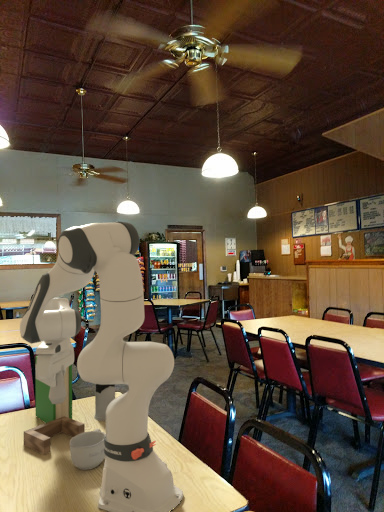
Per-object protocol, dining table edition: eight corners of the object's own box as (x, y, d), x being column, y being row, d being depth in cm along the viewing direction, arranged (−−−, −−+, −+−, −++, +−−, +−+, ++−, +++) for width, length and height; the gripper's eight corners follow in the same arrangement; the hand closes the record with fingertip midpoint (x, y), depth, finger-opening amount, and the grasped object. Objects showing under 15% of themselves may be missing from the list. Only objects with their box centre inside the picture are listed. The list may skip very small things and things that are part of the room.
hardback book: (72, 423, 144) (71, 360, 144) (53, 428, 138) (53, 363, 139) (53, 410, 156) (53, 353, 157) (35, 415, 151) (35, 356, 152)
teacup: (93, 476, 106) (93, 448, 106) (61, 470, 109) (61, 443, 109) (118, 453, 119) (118, 428, 119) (89, 449, 122) (89, 424, 123)
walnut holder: (84, 436, 131) (84, 423, 132) (43, 455, 119) (43, 440, 119) (64, 428, 139) (64, 416, 139) (23, 445, 126) (23, 431, 126)
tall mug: (101, 422, 144) (100, 383, 144) (84, 412, 154) (83, 375, 155) (120, 416, 149) (120, 378, 150) (103, 406, 160) (102, 371, 160)
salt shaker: (60, 405, 125) (59, 366, 126) (45, 404, 127) (44, 366, 127) (69, 399, 131) (69, 362, 132) (55, 398, 133) (55, 361, 133)
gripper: (62, 338, 140) (62, 375, 140) (32, 350, 120) (33, 393, 120) (78, 338, 140) (78, 375, 139) (51, 350, 119) (51, 394, 119)
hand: (57, 384), depth 129 cm, fingers closed on salt shaker, 4 cm apart
